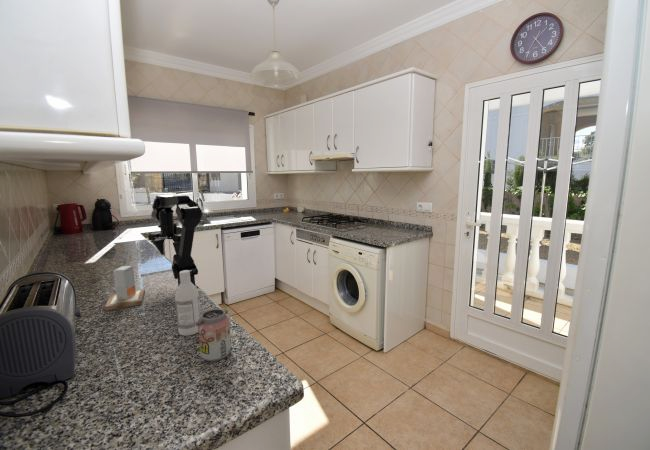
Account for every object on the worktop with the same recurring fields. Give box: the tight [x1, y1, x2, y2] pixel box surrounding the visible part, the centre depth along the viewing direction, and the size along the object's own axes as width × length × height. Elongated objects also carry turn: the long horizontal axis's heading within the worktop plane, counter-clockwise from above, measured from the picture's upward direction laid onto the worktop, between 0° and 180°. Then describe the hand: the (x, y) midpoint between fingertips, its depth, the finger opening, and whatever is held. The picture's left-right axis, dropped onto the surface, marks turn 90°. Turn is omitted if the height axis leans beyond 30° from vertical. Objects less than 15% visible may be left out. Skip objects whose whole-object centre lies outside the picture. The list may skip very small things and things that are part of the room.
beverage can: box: [195, 308, 232, 362], centre depth 84 cm, size 9×8×12 cm
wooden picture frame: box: [104, 288, 146, 311], centre depth 122 cm, size 12×14×2 cm
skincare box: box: [112, 265, 137, 299], centre depth 121 cm, size 6×4×12 cm
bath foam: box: [174, 270, 202, 337], centre depth 96 cm, size 7×7×20 cm
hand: (170, 255), depth 141 cm, fingers open, 9 cm apart
